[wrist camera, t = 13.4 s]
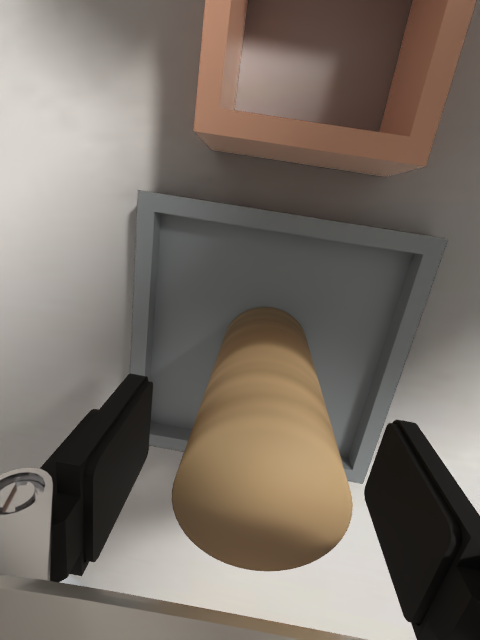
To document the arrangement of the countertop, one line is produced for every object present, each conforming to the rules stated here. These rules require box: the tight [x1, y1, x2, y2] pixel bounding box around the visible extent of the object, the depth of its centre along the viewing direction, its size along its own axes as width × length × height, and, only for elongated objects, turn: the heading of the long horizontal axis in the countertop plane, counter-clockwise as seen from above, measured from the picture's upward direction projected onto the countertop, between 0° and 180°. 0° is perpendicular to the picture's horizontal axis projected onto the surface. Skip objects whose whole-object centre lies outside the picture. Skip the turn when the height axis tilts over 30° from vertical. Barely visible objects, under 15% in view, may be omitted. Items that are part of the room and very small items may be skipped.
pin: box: [172, 307, 353, 571], centre depth 13 cm, size 4×4×10 cm
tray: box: [130, 190, 448, 484], centre depth 17 cm, size 14×14×2 cm
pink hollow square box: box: [194, 0, 477, 177], centre depth 12 cm, size 8×8×4 cm
